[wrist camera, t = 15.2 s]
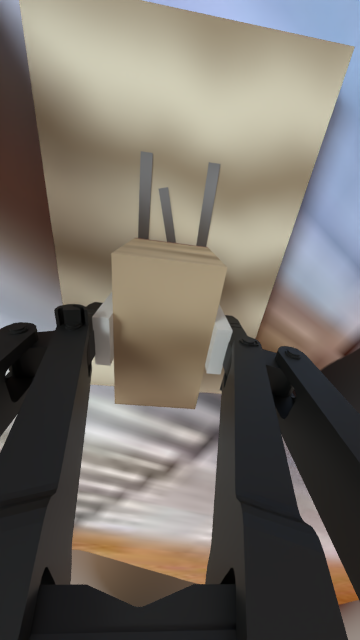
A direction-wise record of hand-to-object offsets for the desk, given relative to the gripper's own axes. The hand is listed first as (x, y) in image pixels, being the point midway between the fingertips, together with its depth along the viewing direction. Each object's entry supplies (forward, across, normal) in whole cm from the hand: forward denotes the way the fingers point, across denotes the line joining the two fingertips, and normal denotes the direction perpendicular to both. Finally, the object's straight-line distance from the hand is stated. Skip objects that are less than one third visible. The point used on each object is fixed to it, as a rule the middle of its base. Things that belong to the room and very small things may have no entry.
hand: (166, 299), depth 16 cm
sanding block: (0, 0, 0) cm, 0 cm away
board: (+2, 0, +2) cm, 3 cm away
